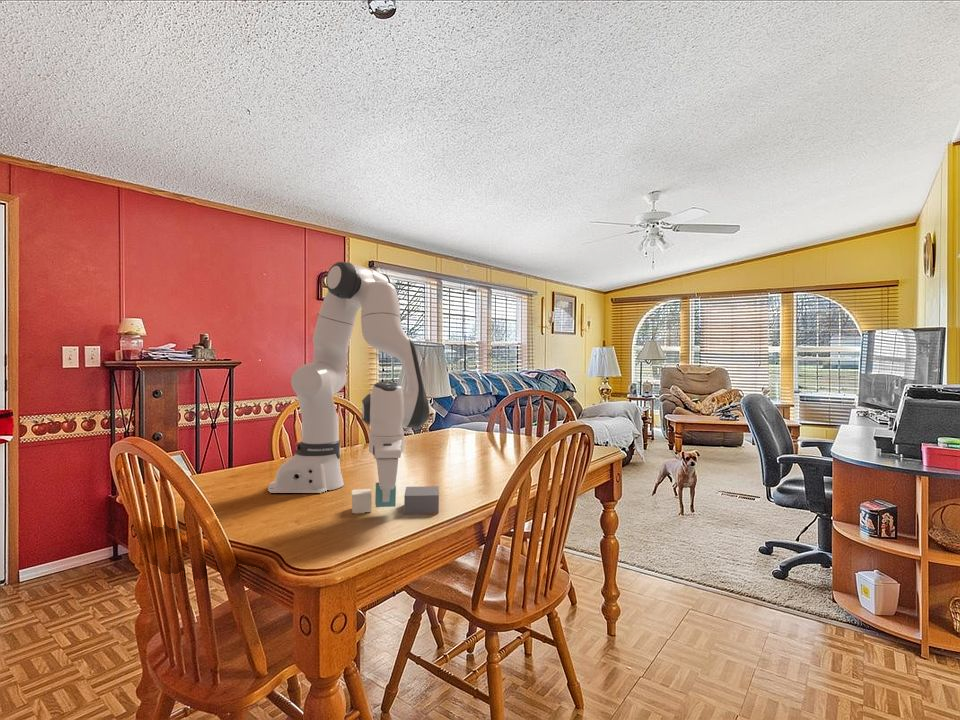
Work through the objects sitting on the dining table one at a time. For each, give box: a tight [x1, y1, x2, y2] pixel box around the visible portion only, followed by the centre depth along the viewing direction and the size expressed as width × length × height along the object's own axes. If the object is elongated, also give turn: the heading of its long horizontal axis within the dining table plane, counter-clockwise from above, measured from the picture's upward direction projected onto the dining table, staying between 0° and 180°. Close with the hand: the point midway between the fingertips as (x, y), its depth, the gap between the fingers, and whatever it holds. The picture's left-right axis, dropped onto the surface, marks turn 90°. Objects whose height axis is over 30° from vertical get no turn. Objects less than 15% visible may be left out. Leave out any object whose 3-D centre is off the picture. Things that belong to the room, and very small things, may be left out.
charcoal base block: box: [403, 485, 440, 515], centre depth 145 cm, size 9×9×5 cm
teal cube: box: [374, 482, 397, 508], centre depth 138 cm, size 5×5×5 cm
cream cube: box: [351, 488, 372, 514], centre depth 143 cm, size 5×5×5 cm
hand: (385, 497), depth 138 cm, fingers closed on teal cube, 5 cm apart
